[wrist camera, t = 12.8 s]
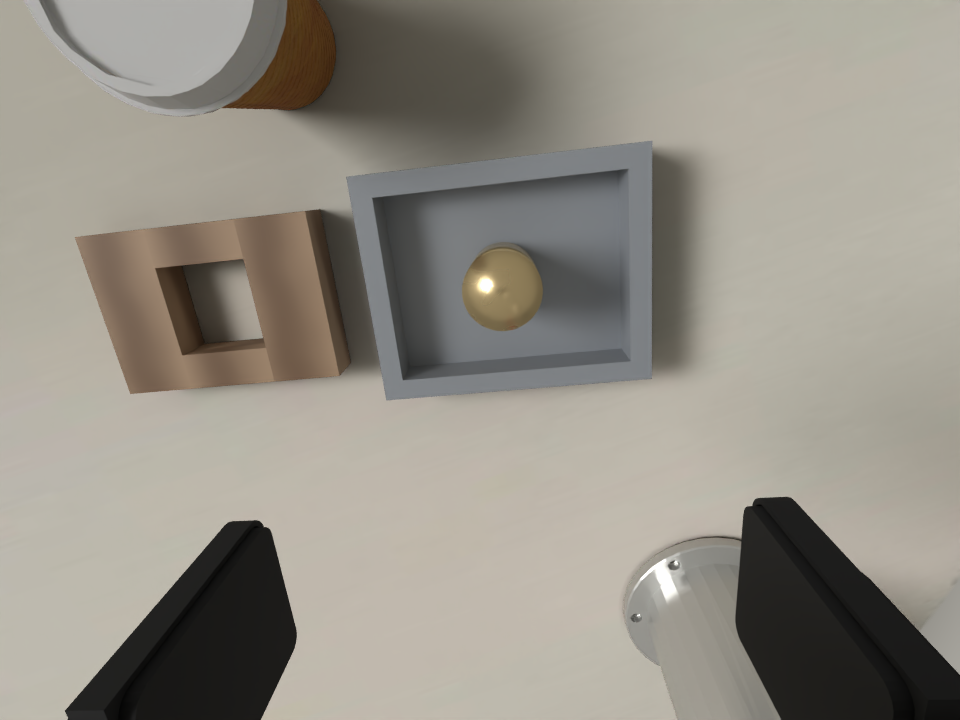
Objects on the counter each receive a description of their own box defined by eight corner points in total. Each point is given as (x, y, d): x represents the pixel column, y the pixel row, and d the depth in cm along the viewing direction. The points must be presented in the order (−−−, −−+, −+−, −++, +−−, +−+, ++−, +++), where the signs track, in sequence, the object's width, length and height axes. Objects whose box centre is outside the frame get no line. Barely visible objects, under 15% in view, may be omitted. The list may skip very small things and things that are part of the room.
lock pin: (532, 237, 30) (538, 245, 24) (539, 303, 31) (546, 325, 25) (465, 246, 30) (456, 256, 24) (475, 311, 31) (468, 335, 26)
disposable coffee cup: (200, -76, 26) (-29, -274, 15) (377, -30, 27) (284, -190, 15) (192, 118, 30) (-2, 76, 18) (351, 158, 30) (258, 140, 19)
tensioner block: (320, 209, 31) (304, 211, 29) (350, 362, 34) (339, 375, 32) (106, 233, 32) (74, 237, 30) (155, 379, 35) (130, 393, 33)
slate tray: (635, 146, 29) (652, 140, 26) (637, 359, 33) (651, 378, 30) (363, 177, 30) (346, 176, 27) (397, 379, 34) (386, 400, 31)
